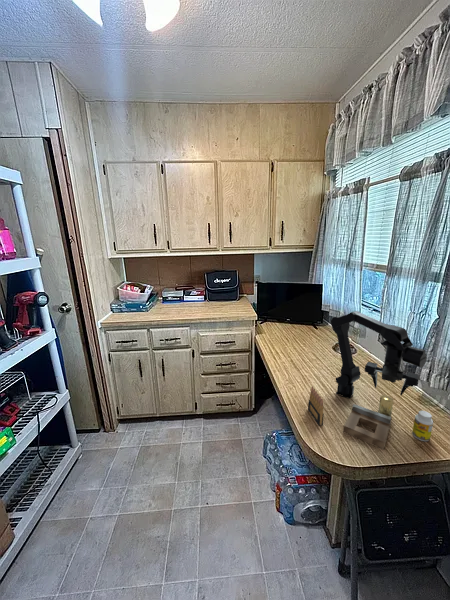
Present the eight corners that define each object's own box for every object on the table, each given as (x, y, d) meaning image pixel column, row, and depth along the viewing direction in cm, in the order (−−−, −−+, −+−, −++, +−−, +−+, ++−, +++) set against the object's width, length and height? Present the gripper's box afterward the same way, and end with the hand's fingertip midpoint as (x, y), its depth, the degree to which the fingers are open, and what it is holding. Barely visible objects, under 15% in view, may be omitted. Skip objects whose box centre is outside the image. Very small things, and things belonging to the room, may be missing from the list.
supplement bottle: (408, 433, 101) (412, 411, 99) (417, 429, 103) (422, 407, 101) (423, 444, 96) (428, 420, 94) (433, 439, 98) (438, 416, 95)
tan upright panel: (323, 425, 106) (325, 399, 103) (318, 425, 106) (320, 400, 103) (311, 408, 116) (313, 385, 114) (307, 409, 116) (309, 385, 114)
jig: (343, 432, 102) (344, 421, 101) (352, 413, 113) (353, 403, 112) (383, 449, 94) (385, 437, 92) (389, 428, 104) (391, 417, 103)
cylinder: (377, 415, 112) (379, 399, 110) (379, 409, 115) (381, 393, 113) (390, 420, 109) (392, 403, 107) (391, 414, 112) (394, 398, 110)
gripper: (363, 358, 105) (359, 391, 109) (420, 372, 94) (413, 409, 98) (369, 349, 114) (365, 380, 117) (421, 361, 102) (415, 395, 106)
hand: (387, 391), depth 109 cm, fingers open, 9 cm apart
